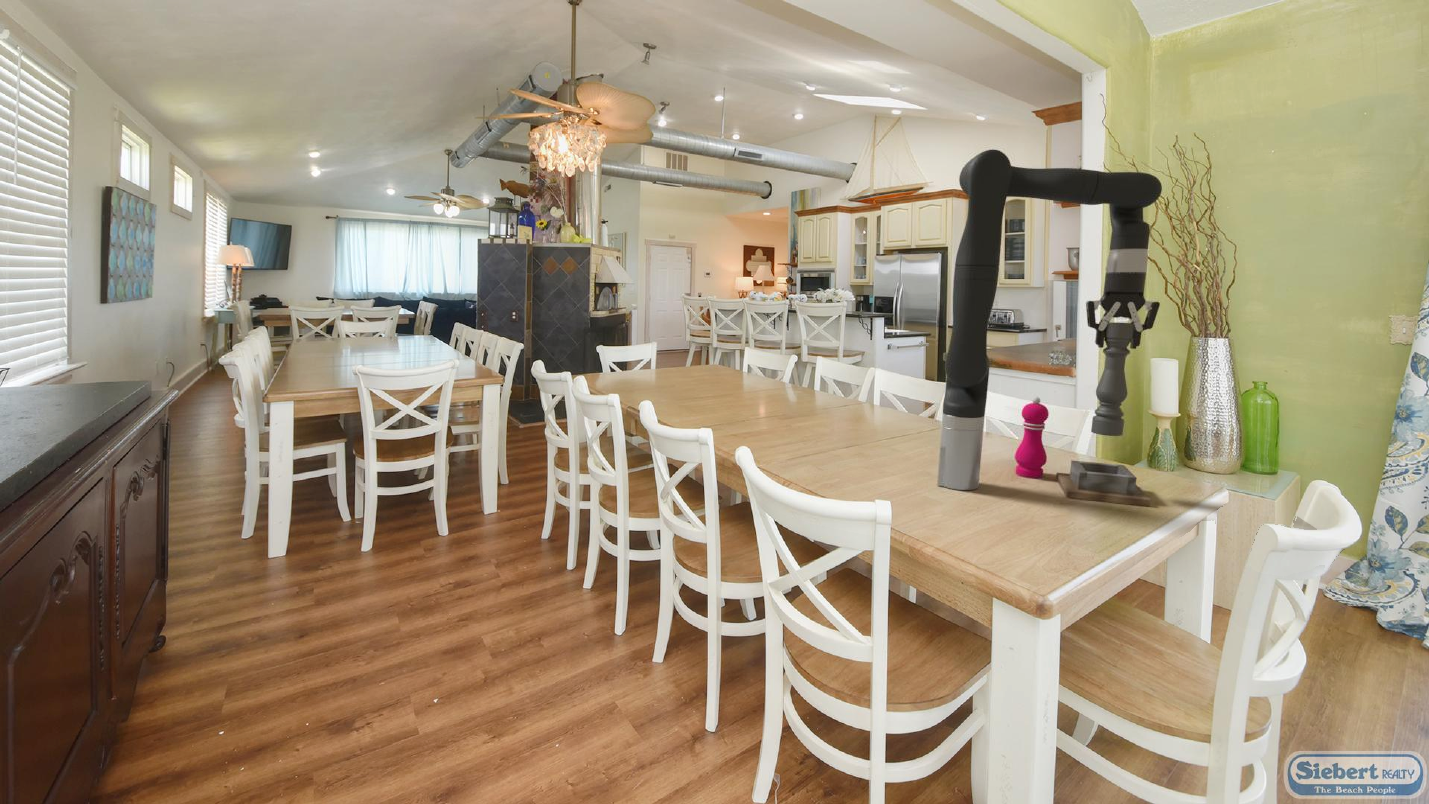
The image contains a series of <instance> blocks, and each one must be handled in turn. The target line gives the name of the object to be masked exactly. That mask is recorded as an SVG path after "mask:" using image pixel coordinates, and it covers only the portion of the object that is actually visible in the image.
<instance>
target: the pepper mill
mask: <svg viewBox="0 0 1429 804" xmlns="http://www.w3.org/2000/svg"><path fill="white" fill-rule="evenodd" d="M1049 414H1050V413H1049V409H1048V408H1047V407H1046V406H1045V405H1044V404H1042V403H1041V399H1040V397H1039V396H1036V397H1033V398H1032V402H1030V403H1027V404H1026V405H1024V406H1023V408H1022V410H1021V416H1022V419H1024V421H1023V422H1022V428H1024V429H1023V430H1024V432H1023V437H1022V441H1020V442H1021V443H1019V445H1018V447H1017V449H1016V451H1015V454H1014V460H1015V461H1016V463H1017V464H1018V465H1016V466H1015V474H1016V475H1017V476H1019V477H1023V478H1027V479H1028V478H1029V479H1040V478H1042V477H1043V476H1044V469H1043V468H1042V467H1043V466H1044V465H1046V463H1047V457H1048V456H1047V452H1046V450H1045V447H1044V444H1043V439H1042V437H1043V431H1044V430H1045V429H1046V428H1045V426H1046V423H1045V421H1047V420H1048V418H1049Z"/></svg>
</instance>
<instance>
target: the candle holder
mask: <svg viewBox="0 0 1429 804" xmlns="http://www.w3.org/2000/svg"><path fill="white" fill-rule="evenodd" d="M1134 326H1135V325H1134V324H1133V323H1131V322H1111V321H1110V322H1109V323H1107V326H1106V327H1105V329H1104V331H1105V338H1104V343H1105V345H1106V347H1105V348H1103V349H1102V353H1103V354H1104V355H1105V360H1104V368H1103V371H1102V374H1101V376H1100V379H1099V382H1098V384H1097V387H1096V389H1095V396H1096V398H1097V400H1098V401H1099V402H1098V404H1099V406H1097V409H1095V410H1094V414H1095V415H1093V416H1092V421H1091V429H1090V430H1091V433H1093V434H1096V435H1100V436H1108V437H1109V436H1110V437H1120V436H1123V434H1124V426H1125V420H1124V418H1123V416H1125V414H1124V412H1123V410H1122V408H1121V406H1122V405H1123V402H1124V401H1125V400H1126V399H1127V397H1128V388H1127V380H1126V373H1125V365H1126V359H1127V357H1128V355H1130V354H1131V350H1130V349H1128V347H1129V346H1130V344H1131V339H1132V338H1133V334H1134Z"/></svg>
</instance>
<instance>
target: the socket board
mask: <svg viewBox="0 0 1429 804" xmlns="http://www.w3.org/2000/svg"><path fill="white" fill-rule="evenodd" d="M1055 479H1056V481H1057V483H1058V484H1059V487H1060V489H1061V490H1062V491H1063V494H1064V496H1065V498H1067V499H1076V500H1084V501H1095V502H1103V503H1112V504H1113V503H1114V504H1120V505H1121V504H1122V505H1130V504H1133V505H1132V506H1140V505H1141V507H1151V501H1152V499H1151V498H1149V496H1148V495H1147V494H1145V492H1144V491H1143V490H1142V489H1141V488H1140V487H1139V486H1138V485H1137V477H1136V475H1134V474H1133V472H1132V471H1130V470H1129V468H1128V467H1127V466H1125V464H1115V463H1105V462H1104V463H1103V462H1093V461H1092V462H1091V461H1080V460H1071V462H1070V473H1064V472H1056V476H1055Z"/></svg>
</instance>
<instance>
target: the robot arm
mask: <svg viewBox="0 0 1429 804" xmlns="http://www.w3.org/2000/svg"><path fill="white" fill-rule="evenodd" d="M958 180H959V181H958V182H959V186H960V188H961V190H962V191H963V193H964V194H965V195H967V196H968V200H967V202H968V203H967V204H968V205H967V206H968V208H967V216H966V222H965V226H964V229H963V233H962V234H961V235H962V236H961V237H960V238H961V239H960V242H959V245H958V249H957V253H956V256H955V263H954V272H953V286H952V328H951V334H950V335H951V336H950V341H949V345H948V350H947V355H946V360H945V364H944V371H945V374H946V382H945V391H944V397H943V403H942V418H941V419H942V420H941V429H940V431H941V432H940V433H941V434H940V443H939V445H940V446H939V455H938V457H939V458H938V469H937V470H938V471H937V485H936V486H939V487H944V488H948V489H952V490H958V491H970V490H971V491H972V490H976V489H978V488H979V484H980V475H981V474H980V473H981V461H982V451H983V441H984V440H983V439H984V429H985V428H984V426H985V414H986V408H987V406H986V405H987V398H988V397H987V396H988V389H989V387H988V386H989V377H990V359H989V357H988V355H987V353H988V352H987V350H988V348H987V345H988V344H987V340H988V339H987V338H988V327H989V321H990V318H991V313H992V310H993V307H994V304H995V303H994V302H995V298H996V295H997V294H996V293H997V289H998V288H997V287H998V282H999V274H1000V273H999V272H1000V260H1001V247H1002V236H1003V235H1002V234H1003V233H1002V232H1003V217H1004V211H1005V207H1006V201H1007V198H1008V197H1010V198H1027V199H1028V198H1029V199H1037V200H1038V199H1040V200H1047V201H1054V202H1062V203H1069V204H1078V205H1085V206H1086V205H1087V206H1096V205H1098V206H1099V205H1109V207H1108V208H1109V217H1110V223H1111V224H1110V226H1111V235H1110V241H1109V242H1110V244H1109V251H1108V256H1107V258H1106V259H1107V260H1106V266H1105V276H1104V284H1103V285H1104V286H1103V294H1102V297H1101V298H1100V299H1099V300H1098V299H1097V300H1087V301H1086V302H1085V308H1086V318H1087V319H1086V320H1087V321H1086V322H1087V327H1089V328H1091V329H1094V330H1095V331H1096V332H1095V340H1094V341H1095V342H1094V343H1095V345H1097V347H1098V348H1101V349H1102V348H1103V349H1104V344H1105V340H1104V339H1105V331H1104V329H1105V327H1106V326H1107V323H1109V322H1111V321H1112V319H1113V318H1115V319H1117V318H1125V319H1129V323H1133V324H1134V325H1135V326H1134V334H1133V338H1132V339H1131V342H1130V343H1129V347H1130V349H1131V350H1136V349H1137V347H1139V346H1140V345H1141V341H1142V340H1141V338H1142V332H1143V331H1145V330H1151V329H1152V328H1153V327H1154V323H1155V321H1156V318H1157V315H1158V312H1159V308H1160V305H1161V304H1160V302H1159V301H1151V300H1146V298H1145V295H1144V294H1145V288H1146V287H1145V286H1146V278H1147V270H1148V262H1149V261H1148V260H1149V257H1148V256H1149V255H1148V252H1149V250H1148V249H1149V244H1150V243H1149V242H1150V236H1151V228H1150V224H1149V223H1148V222H1146V221H1144V209H1145V208H1147V207H1149V206H1151V205H1153V204H1154V203H1155V202H1157V201H1158V199H1159V198H1160V197H1161V195H1162V191H1163V190H1162V189H1163V187H1162V182H1161V181H1160V180H1159V178H1158V177H1156V176H1155V175H1153V174H1151V173H1147V172H1139V171H1137V172H1135V171H1133V172H1132V171H1117V172H1115V171H1111V172H1108V171H1107V172H1106V171H1100V170H1093V169H1084V168H1075V167H1072V168H1071V167H1058V168H1057V167H1054V168H1052V167H1051V168H1047V167H1046V168H1033V167H1032V168H1031V167H1020V166H1013V165H1011V162H1010V158H1009V157H1008V156H1007V154H1005V153H1004V152H1003V151H1001V150H998V149H992V148H991V149H986V150H985V151H984V150H983V151H982V152H980V153H978V154H977V155H975V156H974V157H973V158H971V159H970V160H969V161H968V162H966V163H965V164H964V166H963V167H962V169H961V171H960V174H959V179H958ZM1100 305H1101V308H1102V309H1103V311H1104V313H1103V315H1102V317H1101V318H1100V320H1099V322H1098V323H1097V322H1096V311H1097V310H1098V308H1099V306H1100ZM1143 307H1145V311H1147V313H1146V316H1145V319H1144V323H1142V322H1141V319H1140V316H1139V314H1138V312H1139V311H1140V310H1141V309H1142V308H1143Z"/></svg>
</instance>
